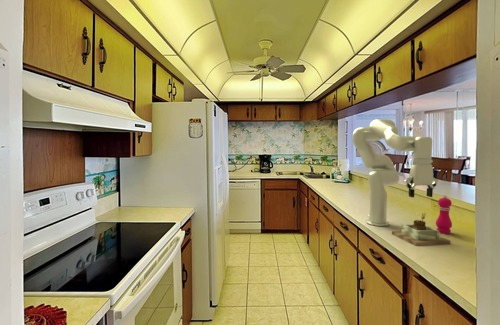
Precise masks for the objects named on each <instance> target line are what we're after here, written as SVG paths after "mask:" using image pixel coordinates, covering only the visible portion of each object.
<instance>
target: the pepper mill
mask: <svg viewBox="0 0 500 325" xmlns="http://www.w3.org/2000/svg"><path fill="white" fill-rule="evenodd" d="M437 204H438V209H439V215H438V217H437V218H436V221H435V225H436V227H437V228H436V230H439V234H444V235H450V234H451V232H452V231H451V228H452V227H453V223H452V220H451V218H450V211H451V206H452V200H451V199H450V198H448V195H446V194H443V196H442V197H441V198H439V199H438V201H437Z"/></svg>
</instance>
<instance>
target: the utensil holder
mask: <svg viewBox="0 0 500 325" xmlns="http://www.w3.org/2000/svg"><path fill="white" fill-rule="evenodd" d="M426 215H427V214H426V212H422V213H421V215H418V214H415V217H414V218H415V220H413V224H412V225H413V229H416V230H426V226H427V225H426V221H424V220H425V218H426Z"/></svg>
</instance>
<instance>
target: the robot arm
mask: <svg viewBox="0 0 500 325" xmlns="http://www.w3.org/2000/svg"><path fill="white" fill-rule="evenodd" d="M382 139H383V140H384V141H385V143H386V145H387V146H388V147H390V148H392V149H393V150H395V151H398V152H413V159H412V160H413V162H412V164H411V166H410V171H409V174H408V176H409V177H407V178H405V179H404V180H403V182H404V184H405V186H406V187H407V189H408V197H410V198H415V188H416V186H418V187H419V186H426V187H427V188H426V197H429V198H433V195H434V194H433V193H434V189H435V188H436V186H437V184H438V182H439V180H438V179H437V178H435V177H434V170H433V165H432V163H433V162H434V160H433V159H432V155H433V153H432V150H433V138H432V137H431V136H406V135H405V136H404V135H403V136H401V135H400V134H399V129H398V127H396V124H395V122H394V121H393V120H392V119H384V118H383V119H379V118H378V119H377V118H376V119H374V120H372V121H371V122H370V123H369V126H361V127H357V128H355V129H354V131H353V132H352V143H353V145H354V147H355V149H356V150H357V151H358V153H359V155H360V158H361V161H362V163H363V165H364V166H365V169H366V170H368V171H370V172H369V174H368V176H367V181H368V187H369V190H368V191H369V196H368V197H369V198H368V199H369V200H368V201H369V202H368V204H369V205H368V214H367V217H368V219H366V220H365V223H366V224H368V225H370V226H375V227H387V226H390V221H388V220H387V218H388V216H387V215H388V214H387V212H388V211H387V210H388V193H387V189H386V188H385V187H391V186H396V185H398V183H399V179H400V177H399V173H398V171H397V169H396V167H395V165H394V163H393V161H392V159H391V158H390V157H389V156H388V155H386V154H378V153H376V151H375V150H374V147H373V146H372V145H371V144H370V143H368V142H377V141H381V140H382Z"/></svg>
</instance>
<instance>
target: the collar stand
mask: <svg viewBox="0 0 500 325" xmlns="http://www.w3.org/2000/svg"><path fill="white" fill-rule="evenodd" d="M425 226H426V230H416V229H413V224H401V230H392V231H391V235H393V236H395V237H396V238H400V240H403V241H405V242H407V243H409V244H411V245H413V246H432V245H450V244H451V240H450V239H447V238H445V237H444V236H443V237H442V236H440V233H439V230H437V228H433V227H430V226H429V225H428V226H427V225H425Z"/></svg>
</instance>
